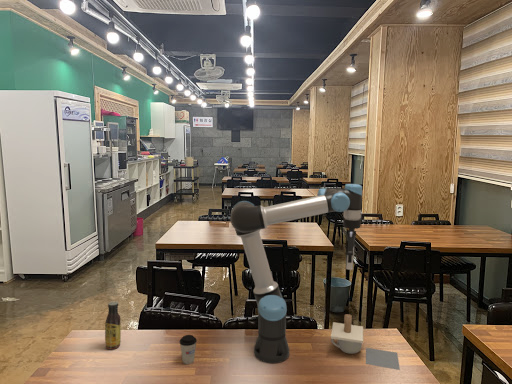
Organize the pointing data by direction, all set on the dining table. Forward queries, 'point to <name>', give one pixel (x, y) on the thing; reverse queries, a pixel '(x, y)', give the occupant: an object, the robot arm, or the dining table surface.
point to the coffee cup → (188, 348)
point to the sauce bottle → (113, 327)
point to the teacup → (348, 346)
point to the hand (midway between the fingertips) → (350, 264)
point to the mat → (382, 358)
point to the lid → (347, 331)
